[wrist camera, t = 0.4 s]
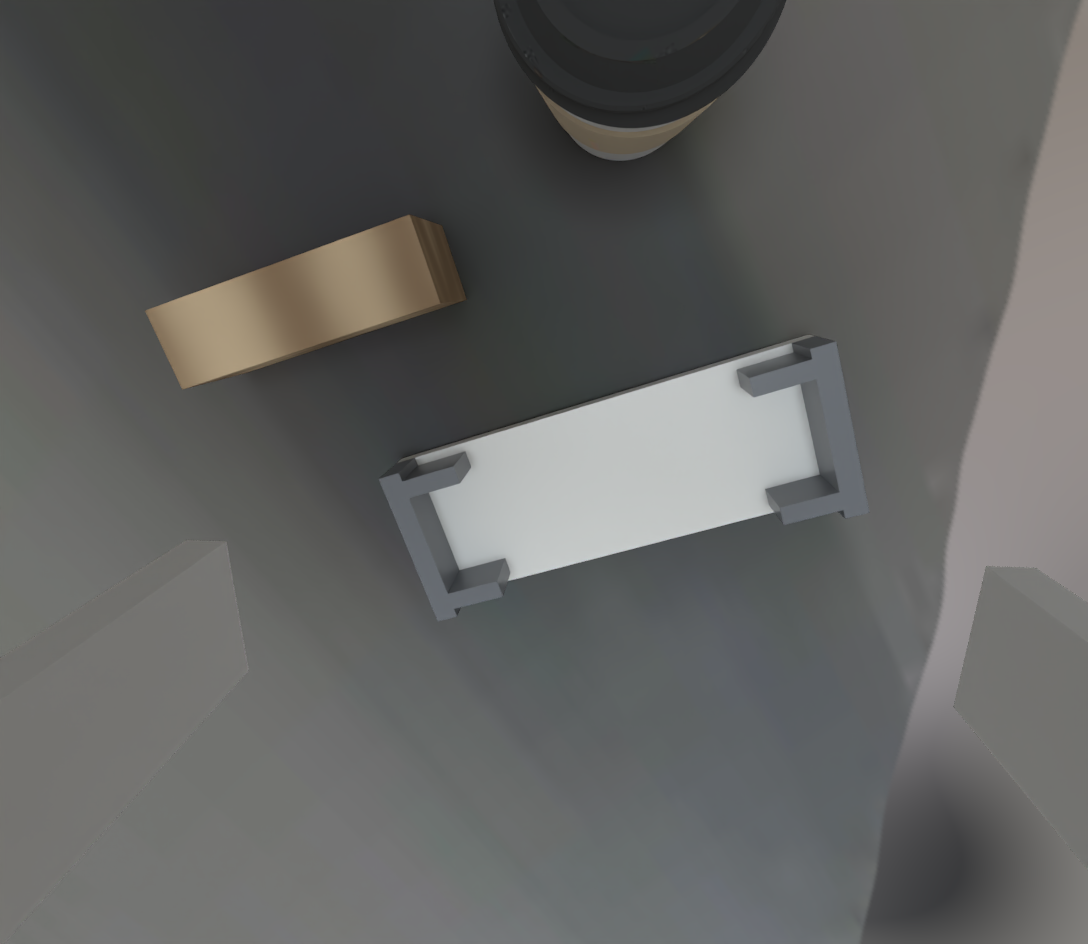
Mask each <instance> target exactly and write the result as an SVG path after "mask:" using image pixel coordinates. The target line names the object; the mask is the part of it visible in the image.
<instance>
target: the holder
mask: <svg viewBox="0 0 1088 944" xmlns="http://www.w3.org/2000/svg"><path fill="white" fill-rule="evenodd" d="M379 481H380V483H381V486H382V488H383V491H384V493H385V496H386V498H387V500H388V503H389V505H390V508H391V510H392V512H393V515H394V517H395V520H396V522H397V524H398V527H399V529H400V532H401V534H402V536H403V539H404V541H405V544H406V546H407V548H408V551H409V553H410V556H411V558H412V560H413V563H414V565H415V568H416V570H417V572H418V575H419V577H420V580H421V582H422V585H423V587H424V589H425V592H426V594H427V597H428V599H429V601H430V604H431V606H432V609H433V611H434V613H435V616H436V618H437V621H441V620H445V619H449V618H453V617H457V615H458V613H459V611H460V608H461V607H464V606H468V605H472V604H476V603H480V602H484V601H488V600H492V599H495V598H499V597H503V595H504V592H505V589H506V585H507V582H508V581H510V580H514V579H518V578H522V577H525V576H529V575H533V574H537V573H541V572H545V571H549V570H552V569H556V568H560V567H564V566H568V565H572V564H576V563H580V562H583V561H587V560H591V559H595V558H599V557H603V556H607V555H611V554H614V553H618V552H622V551H626V550H630V549H634V548H638V547H641V546H645V545H649V544H653V543H657V542H661V541H665V540H669V539H672V538H676V537H680V536H684V535H688V534H692V533H696V532H699V531H703V530H707V529H711V528H715V527H719V526H723V525H727V524H730V523H734V522H738V521H742V520H746V519H750V518H754V517H757V516H761V515H765V514H769V513H773V512H774V513H775V514H776V515H777V517H778V518H779V519H780V521H781V522H782V523H783V525H786V524H790V523H794V522H798V521H802V520H806V519H810V518H814V517H818V516H822V515H826V514H830V513H834V512H839V513H840V514H841V515H842V516H843V517H844V518H845V519H846V518H850V517H854V516H858V515H862V514H866V513H869V507H868V502H867V497H866V492H865V487H864V482H863V477H862V472H861V466H860V461H859V456H858V451H857V446H856V441H855V436H854V430H853V425H852V420H851V415H850V410H849V405H848V400H847V395H846V389H845V384H844V379H843V374H842V369H841V364H840V359H839V353H838V348H837V343H836V341H833V340H829V339H825V338H821V337H817V336H813V335H809V334H808V335H805V336H802V337H799V338H795V339H792V340H789V341H786V342H782V343H779V344H776V345H772V346H769V347H766V348H763V349H759V350H756V351H753V352H749V353H746V354H743V355H740V356H736V357H733V358H730V359H727V360H723V361H720V362H717V363H713V364H710V365H707V366H704V367H700V368H697V369H694V370H690V371H687V372H684V373H681V374H677V375H674V376H671V377H668V378H664V379H661V380H658V381H654V382H651V383H648V384H645V385H641V386H638V387H635V388H631V389H628V390H625V391H622V392H618V393H615V394H612V395H609V396H605V397H602V398H599V399H595V400H592V401H589V402H586V403H582V404H579V405H576V406H572V407H569V408H566V409H563V410H559V411H556V412H553V413H549V414H546V415H543V416H540V417H536V418H533V419H530V420H527V421H523V422H520V423H517V424H513V425H510V426H507V427H504V428H500V429H497V430H494V431H490V432H487V433H484V434H481V435H477V436H474V437H471V438H468V439H464V440H461V441H458V442H454V443H451V444H448V445H445V446H441V447H438V448H435V449H431V450H428V451H425V452H422V453H418V454H415V455H412V456H409V457H405V458H402V459H401V460H399V461H398V462H397V463H396V464H395V465H394V466H393V467H392V468H390V469H389V470H388V471H387V472H386V473H385V474H384V475H383V476H382V477H380V478H379Z"/></svg>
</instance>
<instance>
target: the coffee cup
mask: <svg viewBox="0 0 1088 944" xmlns="http://www.w3.org/2000/svg"><path fill="white" fill-rule="evenodd" d="M785 2H786V0H494V4H495V8H496V12H497V16H498V20H499V23H500V26H501V28H502V31H503V34H504V36H505V39H506V41H507V43H508V45H509V47H510V49H511V51H512V53H513V55H514V57H515V58H516V60H517V62H518V63H519V65H520V66H521V68H522V69H523V71H524V72H525V73H526V75H527V76H528V77H529V79H530V80H531V81H532V82H533V83H534V84H535V86H536V88H537V89H538V91H539V92H540V94H541V96H542V97H543V99H544V100H545V102H546V104H547V105H548V107H549V108H550V110H551V112H552V113H553V115H554V116H555V118H556V119H557V121H558V122H559V123H560V125H561V126H562V127H563V128H564V129H565V130H566V131H567V132H568V133H569V135H570V136H571V137H572V138H573V140H574V141H575V142H576V143H577V144H578V145H579V146H581V147H582V148H583V149H584V150H586V151H587V152H589V153H591V154H593V155H595V156H597V157H600V158H603V159H607V160H614V161H626V160H632V159H636V158H640V157H643V156H645V155H648V154H650V153H652V152H653V151H655V150H657V149H658V148H660V147H661V146H662V145H664V144H665V143H666V142H667V141H668V140H670V139H671V138H673V137H674V136H676V135H677V134H678V133H680V132H681V131H682V130H683V129H684V128H685V127H686V126H688V125H689V124H690V123H691V122H692V121H693V120H694V119H695V118H697V117H698V116H699V115H700V114H701V113H702V112H703V111H704V110H705V109H707V108H708V107H709V106H710V105H711V104H712V103H713V102H714V101H715V100H716V99H717V98H718V97H719V96H721V95H722V94H723V93H724V92H726V91H727V90H728V89H729V88H730V87H731V86H732V85H733V84H734V83H735V82H736V81H737V80H738V79H739V78H740V77H741V76H742V75H743V74H744V73H745V72H746V71H747V69H748V68H749V67H750V66H751V65H752V63H753V62H754V61H755V59H756V58H757V57H758V55H759V54H760V52H761V51H762V49H763V48H764V46H765V44H766V43H767V41H768V40H769V38H770V36H771V34H772V32H773V30H774V28H775V26H776V24H777V22H778V20H779V18H780V15H781V13H782V10H783V8H784V5H785Z"/></svg>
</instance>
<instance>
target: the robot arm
mask: <svg viewBox="0 0 1088 944" xmlns="http://www.w3.org/2000/svg"><path fill="white" fill-rule="evenodd" d="M248 671H249V669H248V664H247V658H246V652H245V646H244V641H243V635H242V629H241V623H240V618H239V612H238V606H237V600H236V595H235V589H234V583H233V577H232V572H231V566H230V560H229V554H228V549H227V543H226V541H201V540H186V541H184V542H183V543H181V544H179V545H178V546H176V547H175V548H173V549H172V550H170V551H168V552H167V553H165V554H164V555H162V556H160V557H159V558H157V559H156V560H154V561H153V562H151V563H149V564H148V565H146V566H145V567H143V568H141V569H140V570H138V571H137V572H135V573H134V574H132V575H130V576H129V577H127V578H126V579H124V580H123V581H121V582H119V583H118V584H116V585H115V586H113V587H111V588H110V589H108V590H107V591H105V592H104V593H102V594H100V595H99V596H97V597H96V598H94V599H93V600H91V601H89V602H88V603H86V604H85V605H83V606H81V607H80V608H78V609H77V610H75V611H74V612H72V613H70V614H69V615H67V616H66V617H64V618H62V619H61V620H59V621H58V622H56V623H55V624H53V625H51V626H50V627H48V628H47V629H45V630H44V631H42V632H40V633H39V634H37V635H36V636H34V637H32V638H31V639H29V640H28V641H26V642H25V643H23V644H21V645H20V646H18V647H17V648H15V649H14V650H12V651H10V652H9V653H7V654H6V655H4V656H2V657H1V658H0V944H4V943H5V942H6V941H7V940H8V939H9V938H10V937H11V935H12V934H13V933H14V932H15V931H16V930H17V929H18V928H19V927H20V925H21V924H22V923H23V922H24V921H25V920H26V919H27V918H28V916H29V915H30V914H31V913H32V912H33V911H34V910H35V909H36V908H37V906H38V905H39V904H40V903H41V902H42V901H43V900H44V899H45V898H46V896H47V895H48V894H49V893H50V892H51V891H52V890H53V889H54V887H55V886H56V885H57V884H58V883H59V882H60V881H61V880H62V879H63V877H64V876H65V875H66V874H67V873H68V872H69V871H70V870H71V868H72V867H73V866H74V865H75V864H76V863H77V862H78V861H79V860H80V858H81V857H82V856H83V855H84V854H85V853H86V852H87V851H88V850H89V848H90V847H91V846H92V845H93V844H94V843H95V842H96V841H97V839H98V838H99V837H100V836H101V835H102V834H103V833H104V832H105V831H106V829H107V828H108V827H109V826H110V825H111V824H112V823H113V822H114V820H115V819H116V818H117V817H118V816H119V815H120V814H121V813H122V812H123V810H124V809H125V808H126V807H127V806H128V805H129V804H130V803H131V802H132V800H133V799H134V798H135V797H136V796H137V795H138V794H139V793H140V791H141V790H142V789H143V788H144V787H145V786H146V785H147V784H148V783H149V781H150V780H151V779H152V778H153V777H154V776H155V775H156V774H157V772H158V771H159V770H160V769H161V768H162V767H163V766H164V765H165V764H166V762H167V761H168V760H169V759H170V758H171V757H172V756H173V755H174V754H175V752H176V751H177V750H178V749H179V748H180V747H181V746H182V745H183V743H184V742H185V741H186V740H187V739H188V738H189V737H190V736H191V735H192V733H193V732H194V731H195V730H196V729H197V728H198V727H199V726H200V724H201V723H202V722H203V721H204V720H205V719H206V718H207V717H208V716H209V714H210V713H211V712H212V711H213V710H214V709H215V708H216V707H217V706H218V704H219V703H220V702H221V701H222V700H223V699H224V698H225V697H226V695H227V694H228V693H229V692H230V691H231V690H232V689H233V688H234V687H235V685H236V684H237V683H238V682H239V681H240V680H241V679H242V678H243V677H244V675H245V674H246V673H247V672H248ZM954 708H955V709H956V711H957V712H958V713H959V714H960V715H961V716H962V718H963V719H964V720H965V722H966V723H967V724H968V725H969V726H970V728H971V729H972V730H973V731H974V733H975V734H976V735H977V736H978V737H979V739H980V740H981V741H982V742H983V743H984V745H985V746H986V747H987V748H988V750H989V751H990V752H991V753H992V754H993V756H994V757H995V758H996V759H997V760H998V762H999V763H1000V764H1001V765H1002V766H1003V768H1004V769H1005V770H1006V771H1007V773H1008V774H1009V775H1010V776H1011V777H1012V779H1013V780H1014V781H1015V782H1016V784H1017V785H1018V786H1019V787H1020V788H1021V790H1022V791H1023V792H1024V793H1025V795H1026V796H1027V797H1028V798H1029V799H1030V801H1031V802H1032V803H1033V804H1034V805H1035V807H1036V808H1037V809H1038V810H1039V812H1040V813H1041V814H1042V815H1043V816H1044V818H1045V819H1046V820H1047V821H1048V822H1049V824H1050V825H1051V826H1052V827H1053V829H1054V830H1055V831H1056V832H1057V833H1058V835H1059V836H1060V837H1061V838H1062V840H1063V841H1064V842H1065V843H1066V844H1067V846H1068V847H1069V848H1070V849H1071V850H1072V852H1073V853H1074V854H1075V855H1076V856H1077V858H1078V859H1079V860H1080V861H1081V863H1082V864H1083V865H1084V866H1085V868H1086V869H1087V870H1088V603H1087V602H1086V601H1084V600H1083V599H1082V598H1080V597H1079V596H1077V595H1076V594H1074V593H1073V592H1071V591H1069V590H1068V589H1067V588H1065V587H1064V586H1062V585H1061V584H1059V583H1058V582H1056V581H1055V580H1053V579H1051V578H1050V577H1049V576H1047V575H1046V574H1044V573H1042V572H1041V571H1040V570H1038V569H1037V568H1024V567H993V566H986V569H985V573H984V578H983V582H982V587H981V591H980V595H979V599H978V604H977V608H976V612H975V616H974V621H973V625H972V629H971V633H970V638H969V642H968V646H967V651H966V655H965V659H964V664H963V668H962V672H961V676H960V681H959V685H958V689H957V694H956V698H955V702H954Z"/></svg>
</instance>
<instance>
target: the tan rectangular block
mask: <svg viewBox="0 0 1088 944" xmlns="http://www.w3.org/2000/svg"><path fill="white" fill-rule="evenodd" d="M464 300H467V299H466V296H465V293H464V290H463V287H462V284H461V281H460V278H459V275H458V272H457V269H456V266H455V263H454V260H453V257H452V254H451V251H450V248H449V245H448V242H447V239H446V236H445V233H444V230H443V227H442V225H439V224H436V223H433V222H430V221H427V220H424V219H421V218H418V217H416V216H413V215H407V216H404V217H401V218H399V219H396V220H393V221H390V222H388V223H385V224H382V225H379V226H377V227H374V228H371V229H368V230H366V231H363V232H360V233H357V234H355V235H352V236H349V237H346V238H344V239H341V240H338V241H335V242H333V243H330V244H327V245H324V246H322V247H319V248H316V249H313V250H311V251H308V252H305V253H302V254H300V255H297V256H294V257H291V258H289V259H286V260H283V261H280V262H278V263H275V264H272V265H269V266H267V267H264V268H261V269H258V270H256V271H253V272H250V273H247V274H245V275H242V276H239V277H236V278H234V279H231V280H228V281H225V282H223V283H220V284H217V285H214V286H212V287H209V288H206V289H203V290H201V291H198V292H195V293H192V294H190V295H187V296H184V297H181V298H179V299H176V300H173V301H170V302H168V303H165V304H162V305H159V306H157V307H154V308H151V309H148V310H146V313H147V316H148V318H149V320H150V322H151V324H152V326H153V328H154V330H155V332H156V335H157V337H158V339H159V341H160V343H161V345H162V347H163V349H164V351H165V354H166V356H167V358H168V360H169V362H170V364H171V366H172V368H173V371H174V373H175V375H176V377H177V379H178V381H179V383H180V385H181V387H182V390H183V389H186V388H190V387H194V386H198V385H202V384H206V383H209V382H213V381H217V380H221V379H225V378H229V377H232V376H236V375H240V374H244V373H248V372H251V371H254V370H257V369H260V368H263V367H266V366H269V365H272V364H275V363H278V362H281V361H284V360H287V359H290V358H293V357H296V356H299V355H302V354H305V353H308V352H311V351H314V350H317V349H320V348H323V347H326V346H329V345H332V344H335V343H338V342H341V341H344V340H347V339H350V338H353V337H356V336H359V335H362V334H365V333H368V332H371V331H374V330H377V329H380V328H383V327H386V326H389V325H392V324H395V323H398V322H401V321H404V320H407V319H410V318H413V317H416V316H419V315H422V314H425V313H428V312H431V311H434V310H437V309H440V308H443V307H446V306H449V305H452V304H455V303H458V302H461V301H464Z"/></svg>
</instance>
